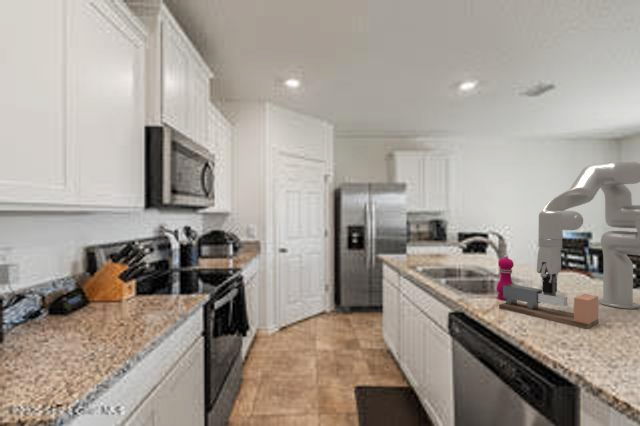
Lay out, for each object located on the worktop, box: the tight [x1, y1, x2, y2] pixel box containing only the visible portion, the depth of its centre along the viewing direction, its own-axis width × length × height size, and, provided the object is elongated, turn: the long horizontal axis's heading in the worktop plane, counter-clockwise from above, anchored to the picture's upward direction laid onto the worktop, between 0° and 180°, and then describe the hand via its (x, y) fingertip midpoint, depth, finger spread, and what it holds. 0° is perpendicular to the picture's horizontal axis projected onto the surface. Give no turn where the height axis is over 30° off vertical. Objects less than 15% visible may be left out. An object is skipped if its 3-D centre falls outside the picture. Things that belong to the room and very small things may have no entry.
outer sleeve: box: [503, 283, 543, 310], centre depth 137 cm, size 5×12×8 cm, turn 35°
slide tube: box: [537, 276, 568, 308], centre depth 132 cm, size 3×19×10 cm, turn 35°
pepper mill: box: [496, 254, 515, 301], centre depth 153 cm, size 7×7×20 cm
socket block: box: [573, 293, 599, 324], centre depth 119 cm, size 10×4×8 cm, turn 125°
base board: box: [498, 301, 600, 329], centre depth 130 cm, size 11×30×2 cm, turn 35°
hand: (549, 291), depth 129 cm, fingers closed on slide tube, 3 cm apart
